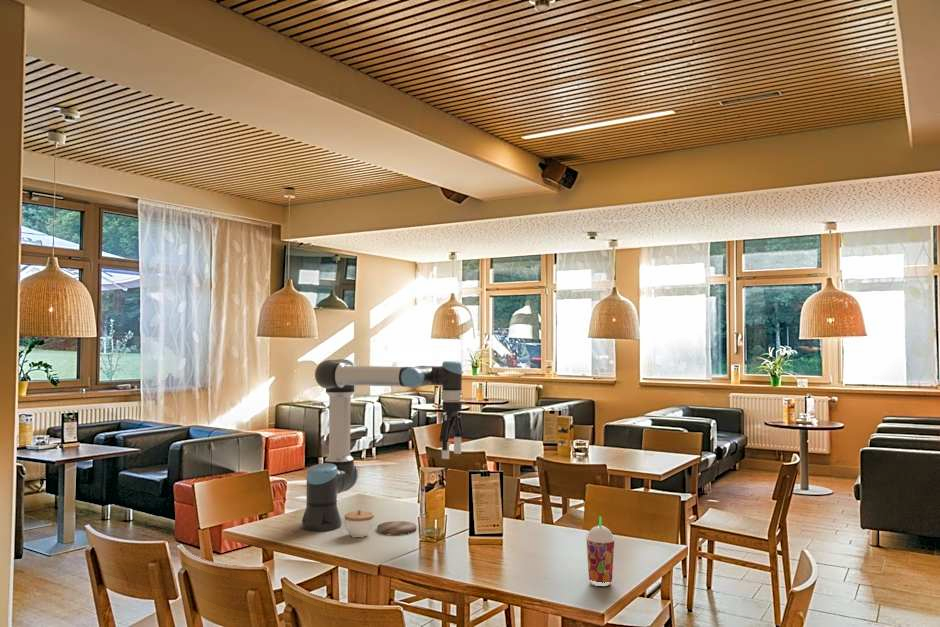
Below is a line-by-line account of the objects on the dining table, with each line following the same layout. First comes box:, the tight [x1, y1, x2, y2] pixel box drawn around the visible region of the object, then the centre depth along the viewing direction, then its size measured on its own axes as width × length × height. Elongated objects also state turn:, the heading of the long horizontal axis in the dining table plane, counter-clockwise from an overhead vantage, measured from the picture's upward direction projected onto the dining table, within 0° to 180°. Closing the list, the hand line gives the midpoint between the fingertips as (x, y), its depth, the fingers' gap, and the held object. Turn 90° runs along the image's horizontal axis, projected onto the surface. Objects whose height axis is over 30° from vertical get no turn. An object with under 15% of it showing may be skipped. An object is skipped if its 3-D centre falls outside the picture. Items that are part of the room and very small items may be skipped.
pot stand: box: [376, 520, 418, 536], centre depth 276 cm, size 15×15×2 cm
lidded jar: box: [344, 509, 375, 538], centre depth 268 cm, size 11×11×9 cm
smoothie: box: [586, 516, 615, 583], centre depth 216 cm, size 8×8×20 cm
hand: (451, 456), depth 279 cm, fingers open, 13 cm apart
